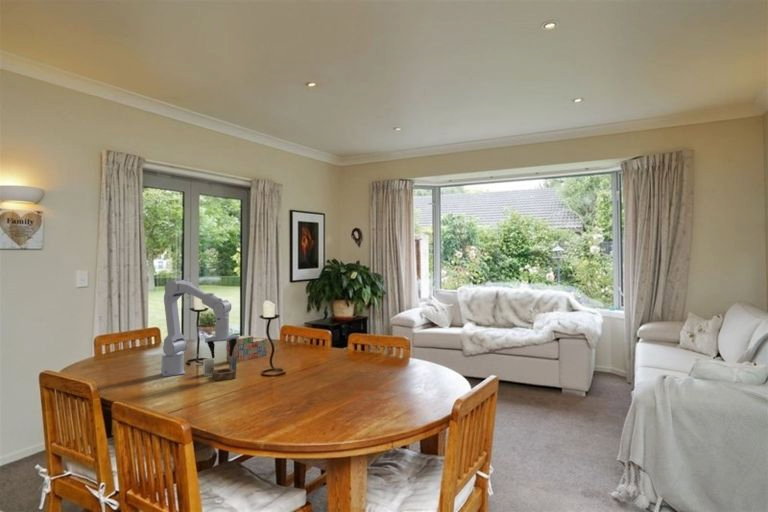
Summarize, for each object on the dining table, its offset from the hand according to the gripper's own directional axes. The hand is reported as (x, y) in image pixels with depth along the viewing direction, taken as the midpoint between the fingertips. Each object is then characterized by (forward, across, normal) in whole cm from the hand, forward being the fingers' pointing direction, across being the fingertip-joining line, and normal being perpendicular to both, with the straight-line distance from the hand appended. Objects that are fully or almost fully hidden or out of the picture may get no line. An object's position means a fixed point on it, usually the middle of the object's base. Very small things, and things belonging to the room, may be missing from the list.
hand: (221, 356), depth 198 cm
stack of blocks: (+10, +19, +30) cm, 37 cm away
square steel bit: (+9, -4, +8) cm, 13 cm away
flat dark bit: (+9, +7, +8) cm, 14 cm away
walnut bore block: (+9, +1, -1) cm, 9 cm away
